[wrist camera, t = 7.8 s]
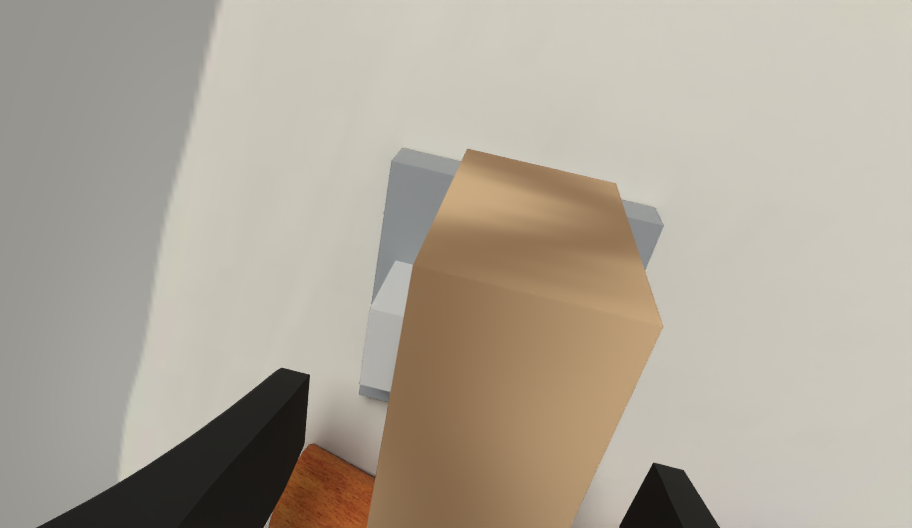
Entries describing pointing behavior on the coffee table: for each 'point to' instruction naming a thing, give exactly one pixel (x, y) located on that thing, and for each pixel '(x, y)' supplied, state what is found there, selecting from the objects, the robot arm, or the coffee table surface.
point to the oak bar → (513, 351)
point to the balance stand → (403, 232)
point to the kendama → (324, 494)
